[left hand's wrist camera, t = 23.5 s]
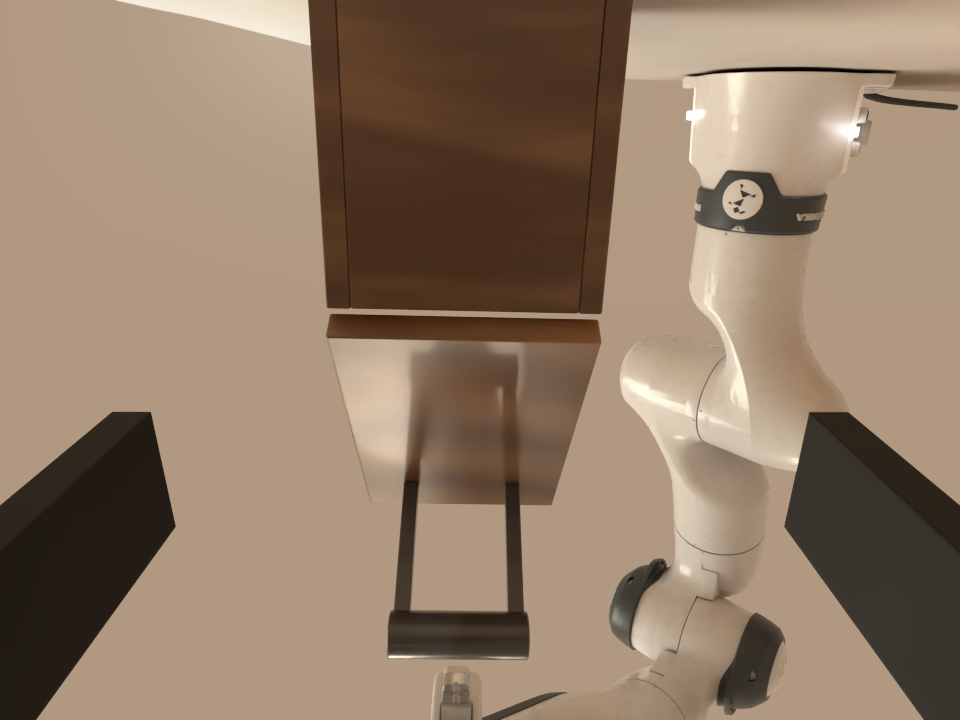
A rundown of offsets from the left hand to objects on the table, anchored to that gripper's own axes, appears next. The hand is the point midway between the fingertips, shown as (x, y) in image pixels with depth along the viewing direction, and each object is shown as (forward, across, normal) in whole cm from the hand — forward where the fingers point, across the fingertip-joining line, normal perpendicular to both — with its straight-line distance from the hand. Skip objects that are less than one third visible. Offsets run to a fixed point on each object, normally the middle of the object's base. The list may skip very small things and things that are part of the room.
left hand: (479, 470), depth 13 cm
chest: (+17, 0, -11) cm, 20 cm away
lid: (+14, +1, +6) cm, 15 cm away
